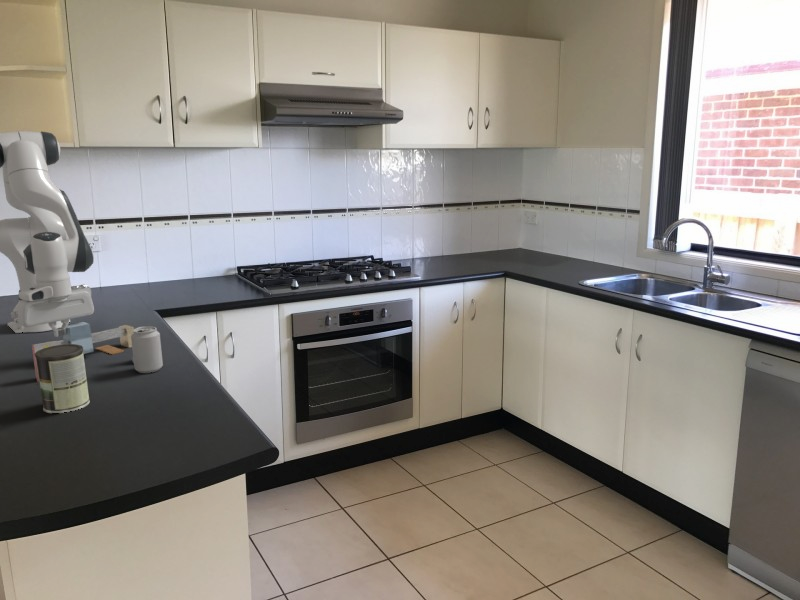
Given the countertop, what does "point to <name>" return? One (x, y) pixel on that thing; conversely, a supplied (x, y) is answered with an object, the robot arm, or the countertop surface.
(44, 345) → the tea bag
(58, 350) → the coffee can
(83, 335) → the light blue block
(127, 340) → the rail
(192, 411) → the countertop surface
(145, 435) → the countertop surface
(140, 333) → the can
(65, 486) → the countertop surface
